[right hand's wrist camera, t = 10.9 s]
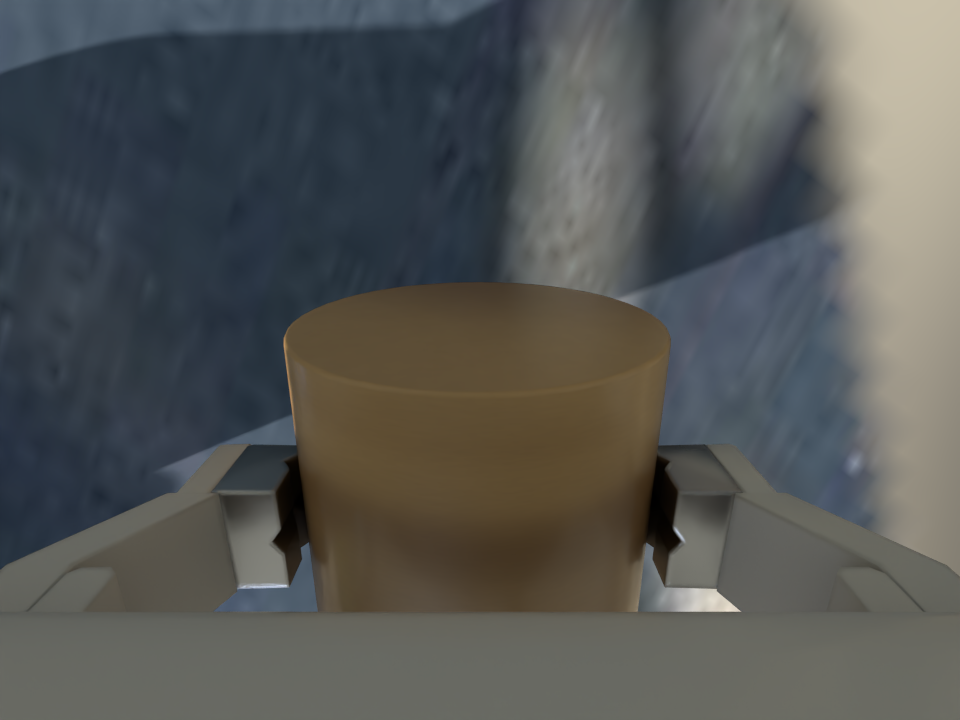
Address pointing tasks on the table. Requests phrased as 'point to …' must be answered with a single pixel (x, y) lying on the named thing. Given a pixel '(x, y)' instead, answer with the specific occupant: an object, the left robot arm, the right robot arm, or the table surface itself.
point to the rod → (477, 447)
